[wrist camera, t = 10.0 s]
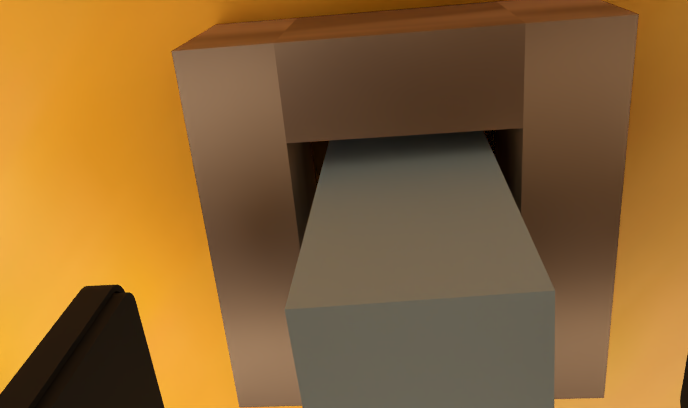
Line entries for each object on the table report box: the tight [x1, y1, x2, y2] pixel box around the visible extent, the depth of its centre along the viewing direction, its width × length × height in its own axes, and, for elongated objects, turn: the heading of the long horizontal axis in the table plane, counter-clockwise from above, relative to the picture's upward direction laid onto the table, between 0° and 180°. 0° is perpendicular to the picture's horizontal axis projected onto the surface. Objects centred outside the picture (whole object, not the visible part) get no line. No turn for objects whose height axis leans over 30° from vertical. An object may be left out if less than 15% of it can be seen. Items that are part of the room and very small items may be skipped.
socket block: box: [172, 0, 639, 407], centre depth 18 cm, size 10×10×4 cm
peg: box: [285, 131, 555, 408], centre depth 15 cm, size 4×4×10 cm
